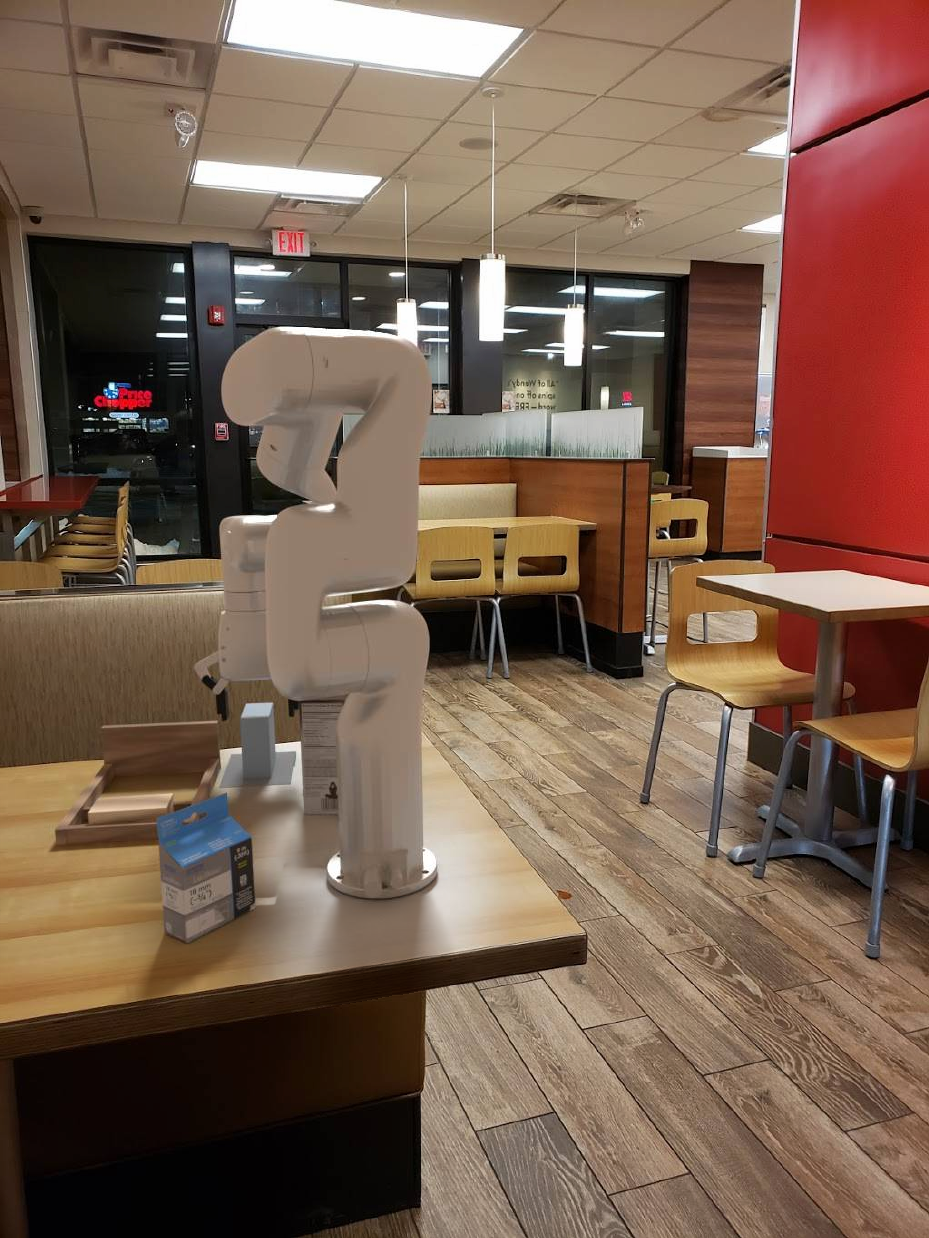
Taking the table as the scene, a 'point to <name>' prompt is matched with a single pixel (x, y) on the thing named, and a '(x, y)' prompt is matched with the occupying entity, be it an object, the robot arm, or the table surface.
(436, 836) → the table surface
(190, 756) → the rack
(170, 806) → the slab top
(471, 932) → the table surface
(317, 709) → the coffee box
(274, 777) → the mat
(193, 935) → the label tape cartridge
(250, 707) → the pale blue upright prism
